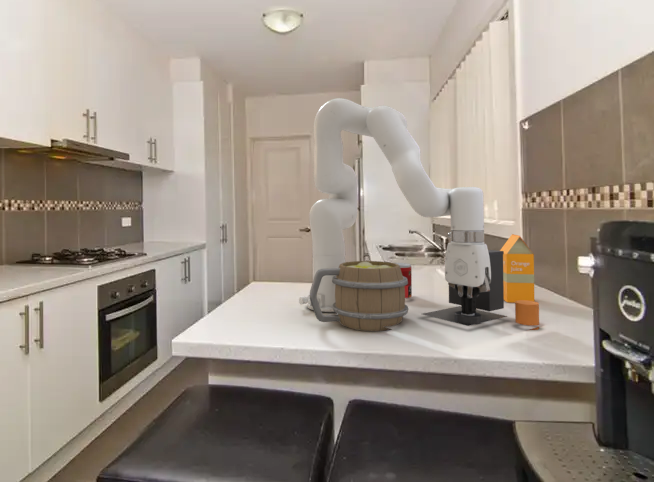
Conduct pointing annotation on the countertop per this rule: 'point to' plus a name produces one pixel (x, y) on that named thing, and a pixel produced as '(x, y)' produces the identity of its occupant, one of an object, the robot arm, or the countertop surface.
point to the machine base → (464, 316)
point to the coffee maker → (496, 294)
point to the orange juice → (518, 270)
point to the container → (527, 313)
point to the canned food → (407, 273)
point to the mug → (364, 295)
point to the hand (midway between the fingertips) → (468, 313)
